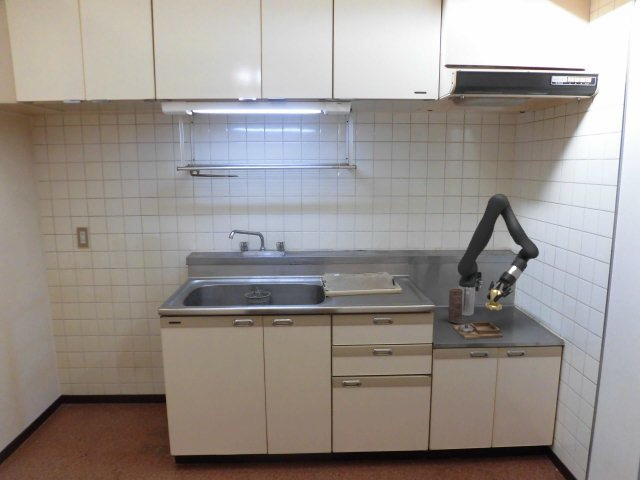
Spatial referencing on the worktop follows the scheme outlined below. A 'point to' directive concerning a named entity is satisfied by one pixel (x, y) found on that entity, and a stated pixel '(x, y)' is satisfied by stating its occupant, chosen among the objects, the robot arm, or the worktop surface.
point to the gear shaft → (492, 304)
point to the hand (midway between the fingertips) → (491, 299)
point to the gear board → (478, 330)
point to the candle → (455, 305)
